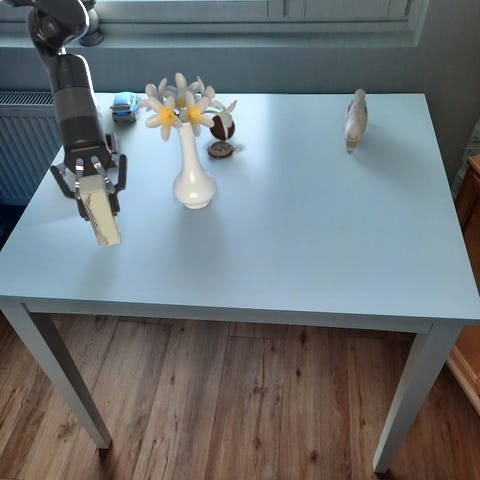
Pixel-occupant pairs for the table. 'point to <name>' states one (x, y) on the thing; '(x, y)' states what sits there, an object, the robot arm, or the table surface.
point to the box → (99, 210)
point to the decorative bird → (355, 120)
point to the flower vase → (187, 132)
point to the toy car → (124, 107)
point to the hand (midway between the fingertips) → (101, 217)
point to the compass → (221, 140)
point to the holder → (112, 146)
